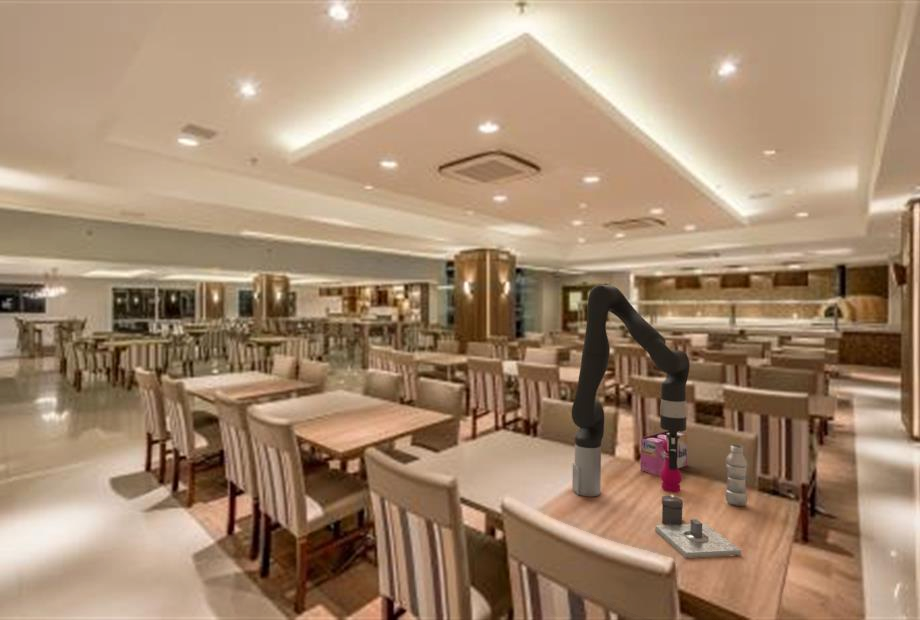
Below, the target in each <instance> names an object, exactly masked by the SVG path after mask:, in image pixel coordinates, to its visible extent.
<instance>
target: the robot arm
mask: <svg viewBox="0 0 920 620" xmlns="http://www.w3.org/2000/svg"><path fill="white" fill-rule="evenodd" d="M609 312H610V313H611V314H612V315H614V316H615V317H617V318H618V319H619V320H620V321H621V322H622V323H623V325H625V327H626V329H627V331H628V332H629V335H630V337H631V338H632V339H633V340H634V341H635V342H636V343H637V344H638V345H639V346H640V347H641V348H642V349H643V350H644V351H645V352H647V354H648V356H649V358H651V360H652V362H653V363H654V365H655V366H656V367H657V368H658V369H659V370H660V371H661V372H663V373H665V374H666V378H665V380H664V381H663V382H662V383H661V387H660V388H661V389H660V390H661V391H660V394H661V396H660V397H661V398H660V399H661V400H660V407H659V410H660V412H659V416H660V417H659V419H660V422H659V427H660V428H661V429H662V430H664V431H669V434H667V433H666V441H667V450H668V451H669V454H668V456H669V469H670V470H677V457H678V455H677V452H678V451H679V443H680V435H677V433H681V432H685V431H686V430H687V404H686V403H687V402H686V400H687V399H686V395H687V393H686V392H687V391H686V386H687V382H688V378H689V373H690V365H691V364H690V363H691V362H690V358H689V356H688V354H687V353H685V351H683V350H678V349H677V350H676V349H675V350H671V349H670V348H669V346H668V345H666V344H667V343H666V339H665V337H664V336H663V335H662V334H661V333H660V332H659V331H658V330H657V329H655V328H654V327H653V326H652V325H651V324H650V323H649V322H648V321H647V320H646V319H645V318H644V317H643V316H642V315H641V314H640V313H639V312H638V311H637V310H636V309H635V308H634V306H632V304H631V303H630V302H629V300H628V298H626V297H625V295H624V294H623V293H622V291H621V290H620V289H619V288H618V287H616V286H613V285H607V284H597V285H595V286H593V287H592V288H591V289H590V291H589V293H588V298H587V314H586V325H585V326H586V327H585V334H584V342H583V347H582V352H581V354H582V355H581V359H580V360H581V362H580V367H579V373H578V374H579V375H578V381H577V382H578V383H577V388H576V391H575V395H574V400H573V402H572V403H573V404H572V407H571V419H572V422H573V423H574V424H575V426H577V427H578V428H579V430H578V431H577V433H576V435H575V436H574V463H572V482H571V483H572V490H573V491H574V493H575V494H576V495H577V496H583V497H598V496H600V495H601V492H602V491H601V488H602V485H601V484H602V481H601V480H602V477H601V476H602V475H601V474H602V471H601V470H602V442H603V441H602V440H603V438H604V433H605V432H604V431H605V410H604V408H603V405H602V403H600V401H598V400H596V398H597V397H596V396H597V393H598V389H599V386H600V385H601V383H602V380H603V378H604V377H605V375H606V372H607V370H608V365H609V359H610V351H611V350H610V349H611V348H610V342H609V341H610V340H609V338H608V333H607V321H608V320H607V319H608V313H609Z"/></svg>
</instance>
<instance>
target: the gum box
mask: <svg viewBox="0 0 920 620" xmlns="http://www.w3.org/2000/svg"><path fill="white" fill-rule="evenodd" d="M666 433H667V434H669V431H668V430H664V431H662V432H659V433H656V434H655V433H654V434H651V435H648V436H644V437H641V438H640V471H641V470H642V471H641V472H644V471H645V472H644V473H647V472H648V473H647V474H650V473H651V474H650V475H653V474H654V475H653V476H656V475H658V476H660V475H661V471H662V469H663V467H664V465H665V456H664V451H665V450H664V449H663V442H664V441H665V440H666ZM677 435H680V443H679V444H680V450H679V452H678V454H679V455H678V456H679V457H678V458H677V466H678V469H681V468H683V467H686V466H688V434H687V433H686V432H684V434H683V433H681V432H677Z"/></svg>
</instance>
